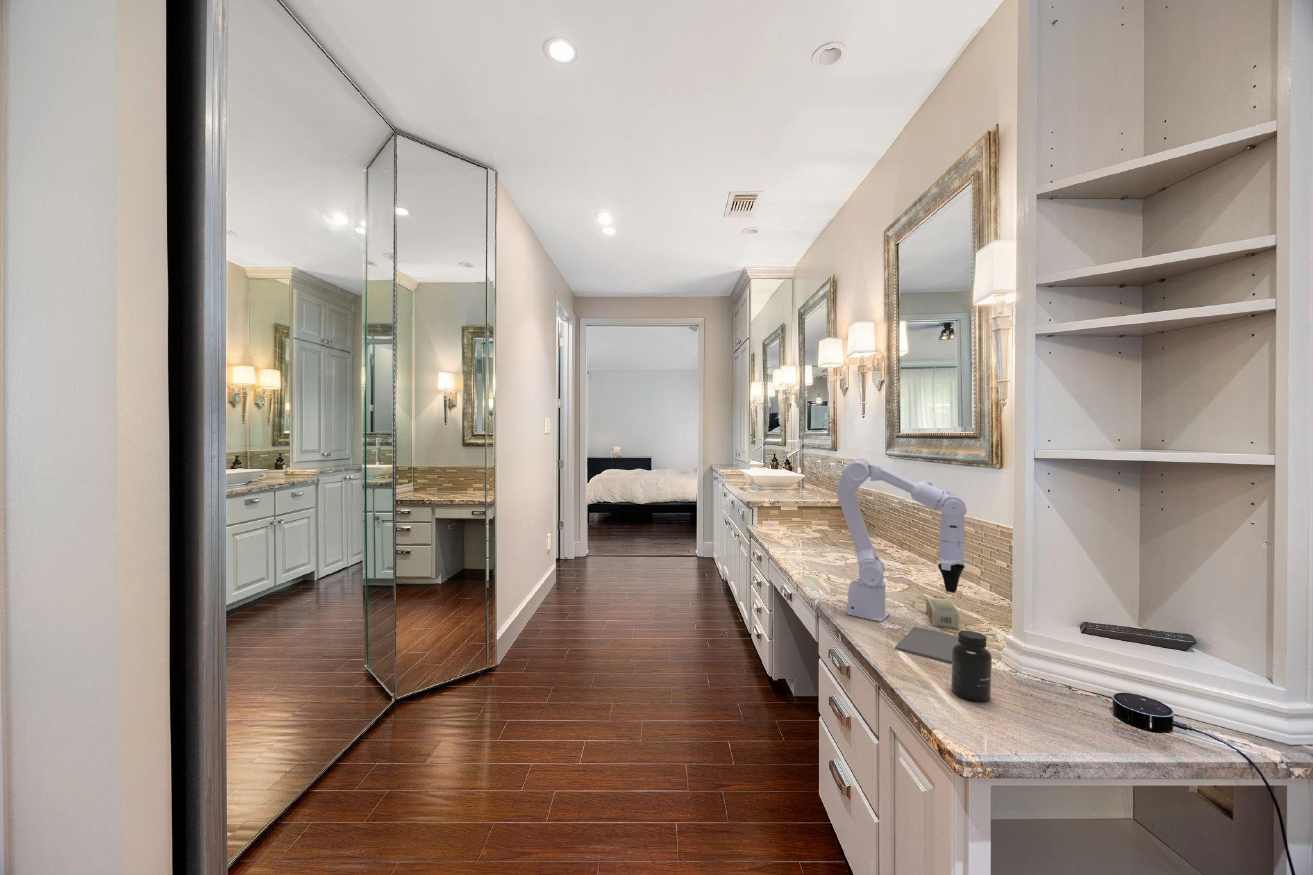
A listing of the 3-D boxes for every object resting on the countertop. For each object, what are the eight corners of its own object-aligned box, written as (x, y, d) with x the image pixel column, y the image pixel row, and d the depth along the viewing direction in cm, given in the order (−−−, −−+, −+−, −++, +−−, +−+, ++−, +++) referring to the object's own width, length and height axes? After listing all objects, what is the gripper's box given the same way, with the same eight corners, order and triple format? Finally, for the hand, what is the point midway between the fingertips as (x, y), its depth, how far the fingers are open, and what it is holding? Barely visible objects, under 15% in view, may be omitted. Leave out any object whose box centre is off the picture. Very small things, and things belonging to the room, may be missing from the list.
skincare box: (959, 629, 142) (951, 614, 153) (959, 613, 142) (951, 599, 153) (931, 626, 144) (925, 611, 156) (932, 610, 144) (926, 596, 156)
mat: (894, 649, 129) (895, 646, 129) (914, 628, 142) (914, 626, 142) (961, 666, 120) (961, 663, 120) (975, 642, 134) (975, 640, 133)
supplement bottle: (990, 706, 103) (992, 644, 103) (950, 696, 107) (951, 636, 106) (991, 691, 109) (992, 632, 108) (952, 682, 112) (953, 625, 112)
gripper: (963, 547, 135) (962, 601, 136) (974, 538, 147) (973, 588, 147) (932, 543, 140) (931, 595, 140) (945, 535, 151) (944, 583, 151)
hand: (950, 591), depth 144 cm, fingers closed
